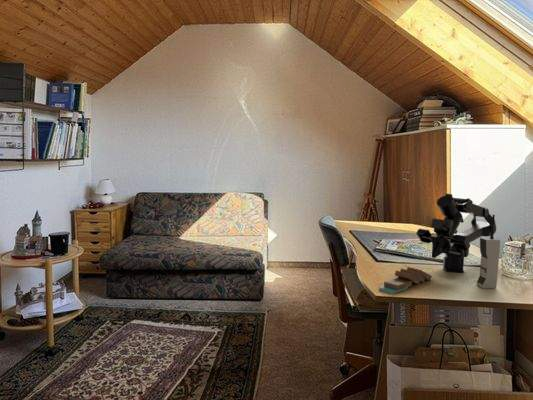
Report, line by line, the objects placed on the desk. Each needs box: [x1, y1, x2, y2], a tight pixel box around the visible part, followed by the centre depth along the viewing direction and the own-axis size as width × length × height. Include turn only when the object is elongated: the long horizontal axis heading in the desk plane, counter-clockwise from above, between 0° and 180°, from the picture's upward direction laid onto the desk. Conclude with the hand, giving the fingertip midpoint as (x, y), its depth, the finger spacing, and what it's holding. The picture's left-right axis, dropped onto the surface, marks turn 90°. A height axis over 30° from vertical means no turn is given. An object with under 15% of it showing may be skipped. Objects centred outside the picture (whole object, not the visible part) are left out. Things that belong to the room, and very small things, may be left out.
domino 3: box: [394, 270, 420, 285], centre depth 146 cm, size 2×5×9 cm
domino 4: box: [399, 268, 426, 283], centre depth 149 cm, size 2×5×9 cm
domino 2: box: [378, 285, 409, 295], centre depth 141 cm, size 2×5×9 cm
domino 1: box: [383, 277, 413, 290], centre depth 142 cm, size 2×5×9 cm
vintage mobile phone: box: [475, 214, 501, 289], centre depth 145 cm, size 4×5×25 cm
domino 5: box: [406, 266, 432, 281], centre depth 151 cm, size 2×5×9 cm
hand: (433, 257), depth 156 cm, fingers closed
